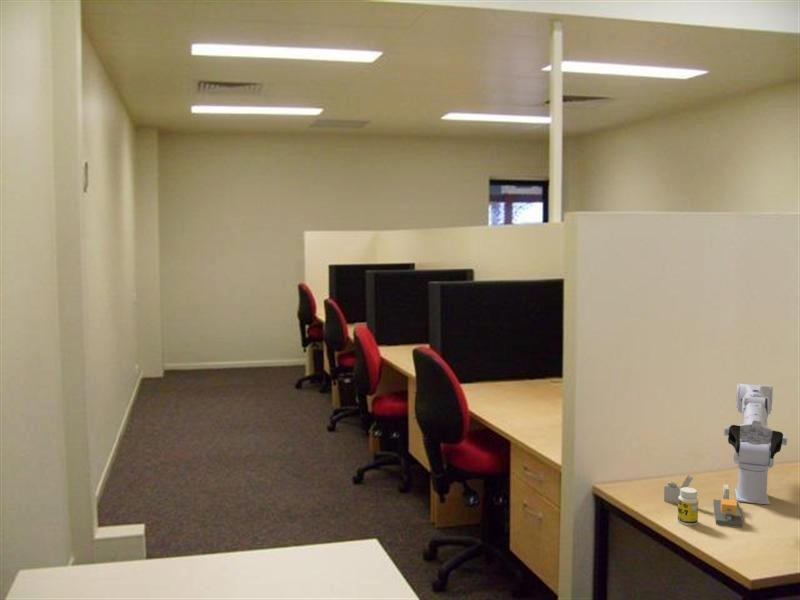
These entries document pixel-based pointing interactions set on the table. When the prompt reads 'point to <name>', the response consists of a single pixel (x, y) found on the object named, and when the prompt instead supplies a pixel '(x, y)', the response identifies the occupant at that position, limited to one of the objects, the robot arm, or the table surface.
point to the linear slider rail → (726, 518)
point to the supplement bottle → (688, 506)
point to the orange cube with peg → (728, 506)
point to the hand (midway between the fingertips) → (755, 452)
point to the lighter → (674, 490)
